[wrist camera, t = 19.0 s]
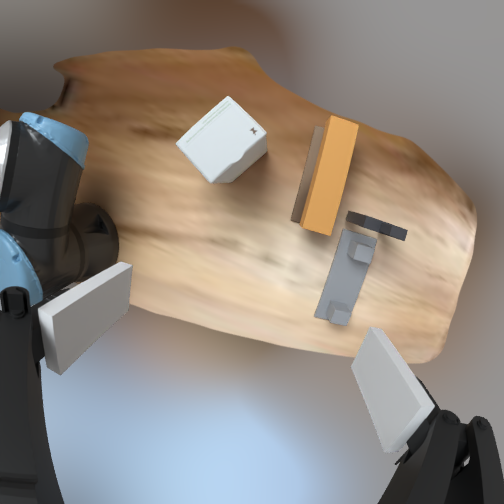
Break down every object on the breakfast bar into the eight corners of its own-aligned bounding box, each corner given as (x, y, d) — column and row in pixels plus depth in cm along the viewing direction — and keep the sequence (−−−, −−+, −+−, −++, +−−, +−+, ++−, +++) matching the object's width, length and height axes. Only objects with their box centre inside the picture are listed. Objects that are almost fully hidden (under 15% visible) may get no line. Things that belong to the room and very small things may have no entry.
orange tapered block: (299, 224, 40) (302, 227, 36) (326, 121, 36) (331, 115, 33) (325, 232, 40) (330, 236, 36) (351, 129, 36) (358, 124, 33)
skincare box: (243, 123, 41) (229, 90, 26) (270, 152, 42) (271, 132, 27) (204, 157, 43) (171, 141, 27) (230, 186, 43) (210, 185, 28)
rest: (290, 219, 44) (293, 223, 40) (315, 126, 40) (320, 119, 36) (325, 229, 44) (331, 234, 40) (349, 137, 40) (357, 132, 36)
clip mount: (314, 315, 47) (317, 327, 43) (342, 228, 44) (350, 232, 39) (346, 322, 47) (352, 334, 43) (376, 239, 44) (386, 244, 39)
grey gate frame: (345, 220, 43) (372, 231, 31) (348, 210, 42) (376, 218, 30) (381, 231, 43) (416, 246, 31) (384, 222, 42) (419, 234, 30)
